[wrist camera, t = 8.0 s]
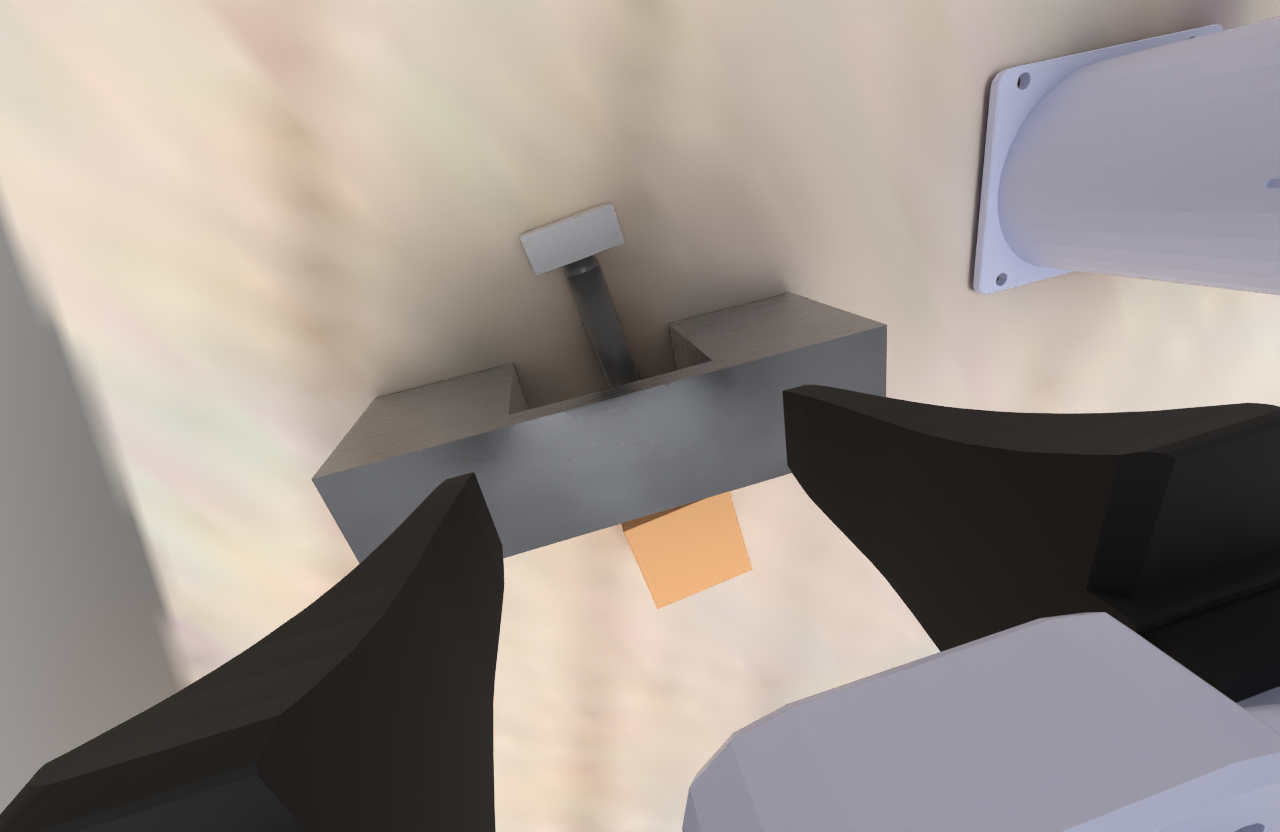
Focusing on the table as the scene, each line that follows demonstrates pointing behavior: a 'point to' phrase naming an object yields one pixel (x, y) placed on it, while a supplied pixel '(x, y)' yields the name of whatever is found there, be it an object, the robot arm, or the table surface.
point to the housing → (603, 430)
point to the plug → (678, 537)
